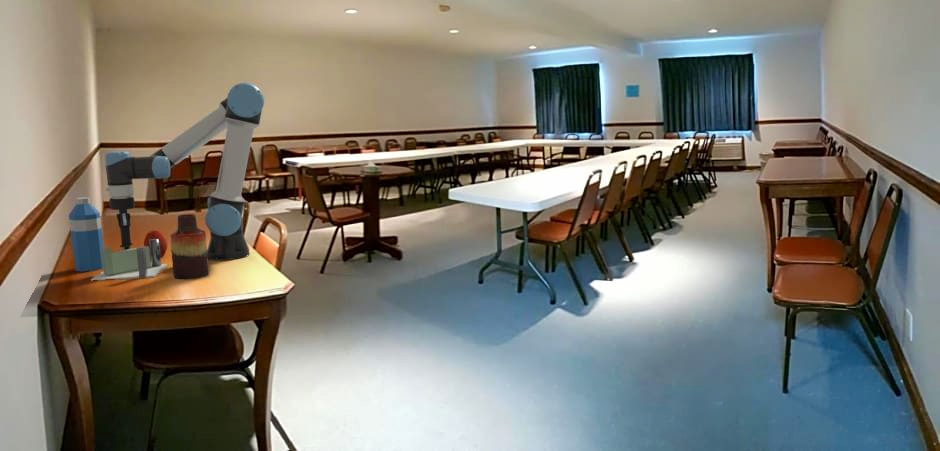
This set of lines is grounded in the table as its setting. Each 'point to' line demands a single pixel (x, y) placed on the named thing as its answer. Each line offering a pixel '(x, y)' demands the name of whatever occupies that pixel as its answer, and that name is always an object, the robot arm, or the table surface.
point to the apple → (161, 241)
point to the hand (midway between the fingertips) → (128, 264)
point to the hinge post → (155, 252)
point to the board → (131, 273)
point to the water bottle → (86, 235)
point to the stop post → (141, 262)
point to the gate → (121, 260)
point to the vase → (189, 249)
